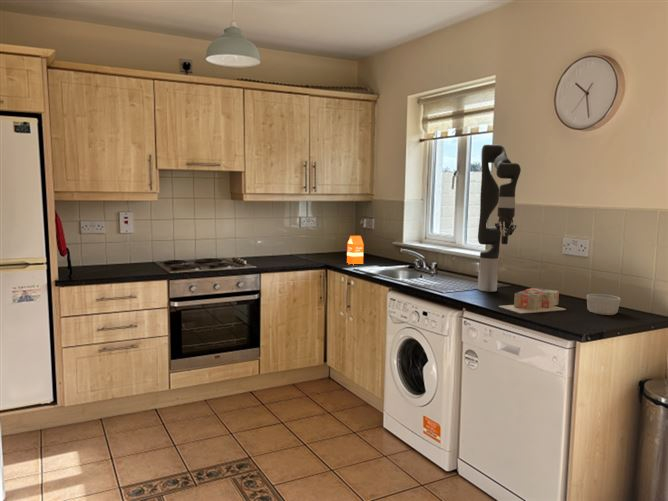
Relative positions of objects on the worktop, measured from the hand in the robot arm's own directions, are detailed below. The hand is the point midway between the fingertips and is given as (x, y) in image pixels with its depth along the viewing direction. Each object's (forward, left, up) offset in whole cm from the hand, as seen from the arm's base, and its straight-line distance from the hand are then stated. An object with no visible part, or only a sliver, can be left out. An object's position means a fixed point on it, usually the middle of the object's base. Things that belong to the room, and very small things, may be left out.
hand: (504, 244), depth 246 cm
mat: (+17, +3, -27) cm, 32 cm away
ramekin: (+32, +28, -27) cm, 51 cm away
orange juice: (-138, -15, -27) cm, 141 cm away
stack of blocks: (+9, +5, -24) cm, 26 cm away
